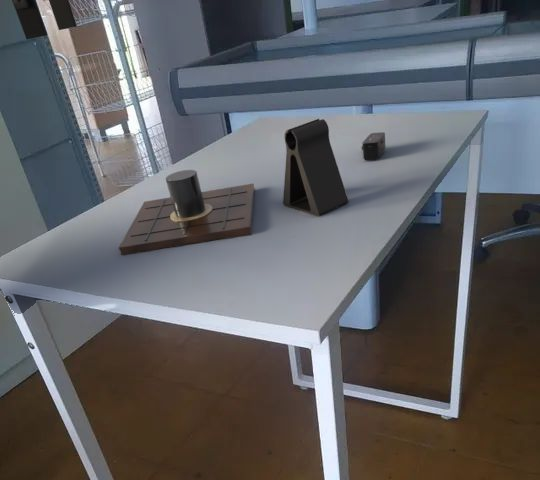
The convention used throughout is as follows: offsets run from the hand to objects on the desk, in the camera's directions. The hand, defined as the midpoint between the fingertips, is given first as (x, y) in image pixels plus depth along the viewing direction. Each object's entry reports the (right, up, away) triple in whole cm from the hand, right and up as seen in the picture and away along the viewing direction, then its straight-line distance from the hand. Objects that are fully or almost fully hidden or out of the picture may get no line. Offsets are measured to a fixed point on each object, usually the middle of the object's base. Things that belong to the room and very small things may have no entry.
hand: (53, 32), depth 78 cm
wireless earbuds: (+50, -9, +23) cm, 56 cm away
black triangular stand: (+38, -23, +8) cm, 45 cm away
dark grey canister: (+18, -23, +10) cm, 31 cm away
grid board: (+19, -24, +11) cm, 32 cm away
